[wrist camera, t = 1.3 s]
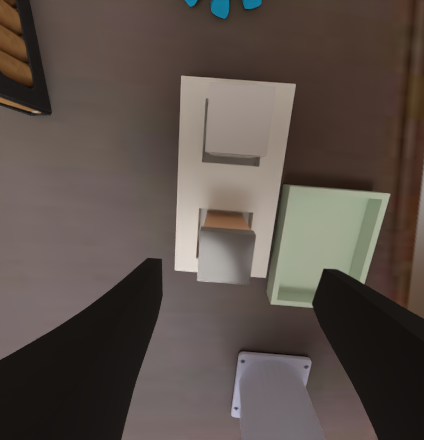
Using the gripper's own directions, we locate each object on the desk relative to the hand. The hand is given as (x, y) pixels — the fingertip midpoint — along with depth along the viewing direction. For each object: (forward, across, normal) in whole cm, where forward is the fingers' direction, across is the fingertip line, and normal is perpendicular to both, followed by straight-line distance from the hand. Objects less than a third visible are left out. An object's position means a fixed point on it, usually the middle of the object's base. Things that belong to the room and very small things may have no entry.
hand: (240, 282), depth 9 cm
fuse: (+11, 0, -6) cm, 12 cm away
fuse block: (+11, 0, -2) cm, 11 cm away
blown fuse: (+10, 0, +2) cm, 10 cm away
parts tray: (+10, -9, +3) cm, 14 cm away
